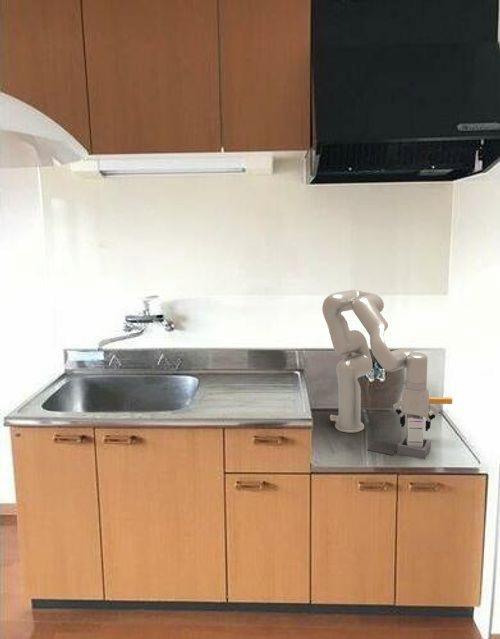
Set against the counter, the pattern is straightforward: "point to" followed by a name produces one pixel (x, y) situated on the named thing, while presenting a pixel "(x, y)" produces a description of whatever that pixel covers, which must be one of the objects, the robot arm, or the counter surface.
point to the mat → (383, 447)
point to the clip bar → (440, 400)
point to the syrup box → (414, 431)
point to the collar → (414, 448)
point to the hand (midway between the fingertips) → (415, 427)
